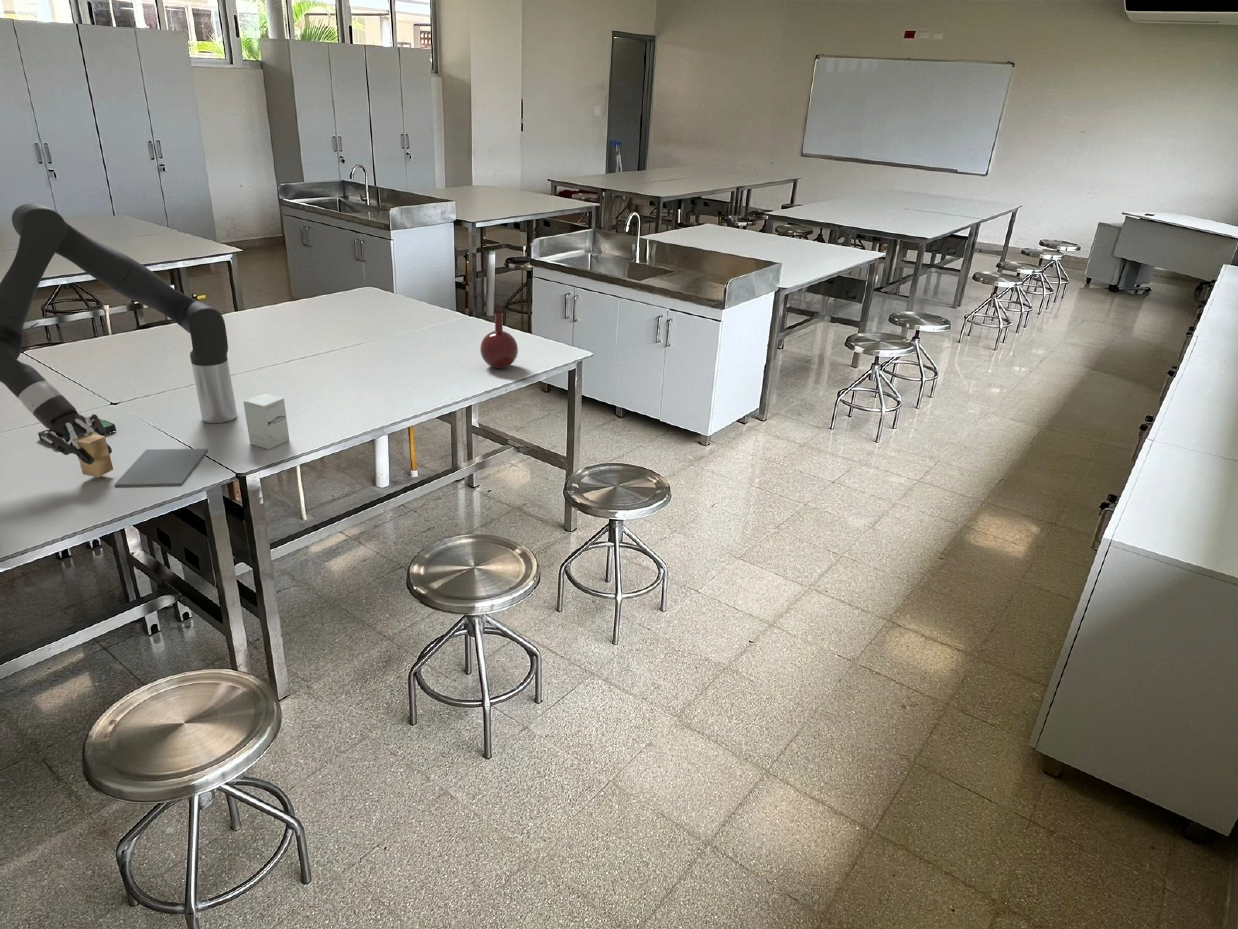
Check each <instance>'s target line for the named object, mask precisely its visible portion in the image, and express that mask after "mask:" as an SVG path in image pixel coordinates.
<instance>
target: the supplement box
mask: <svg viewBox="0 0 1238 929" xmlns="http://www.w3.org/2000/svg"><path fill="white" fill-rule="evenodd" d="M243 406H244V408H243V409H244V413H245V414H244V415H245V419H246V420H245V421H246V427H247V434H248V440H249V444H250V445H254V446H257V447H260V448H263V449H266V450H270V449H273V448H274V447H276V446H278V445H281V444H284V443H286V442H288V441H289V440H290V433H289V428H288V427H289V426H288V420H287V413H286V405H285V398H284V397H281V396H276V395H272V394H269V393H263V394H260V395H257V396H254V397H252V398H248V399H246V400H243Z"/></svg>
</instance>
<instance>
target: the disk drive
mask: <svg viewBox="0 0 1238 929" xmlns="http://www.w3.org/2000/svg"><path fill="white" fill-rule="evenodd" d="M99 420H100V422H101V423H102V425H103V427H104V429H105V430H106V432H107V434H108V435H110V434H109V433H110V432H113V431H117V428H116V425H115V423H113V422H110V421H107V420H105V419H101V418H99ZM86 425H88V424H87V423H86ZM89 427H91V426H89ZM37 433H38V438H39V440H40V441H42V442H43V439H44V438H45V436H46V435H47V433H50V430H49V429H48V428H47V429H46V430H42V431H39V432H37ZM87 433H88V432H87V431H86V433H85V434H87ZM58 438H59V439H61V440H63V438H60V437H58ZM79 438H80V437H79ZM63 441H64V440H63Z"/></svg>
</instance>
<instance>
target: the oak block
mask: <svg viewBox="0 0 1238 929" xmlns="http://www.w3.org/2000/svg"><path fill="white" fill-rule="evenodd" d="M77 442H78V443H79V444H80V445H81V448H84V449H85V450H86V451H87V452H88V453H89V454H90V455H91V456H92V457H93V458H94V461H93V463H92V464H90V465H88V464H87V463H84V462H83V461H82V460H81V459H80V458H79V457H78V456H77V458H78V462H79V465H80V468H81V472H82V475H84V476H89V477H94V478H101V476H103V475H104V476H105V475H107V474H108V473H109V472H112V471H113V470H114V467H113V466H114V465H113V462H112V459H111V454H109V451H108V447H107V444H108V443H107V438H106V435H105V436H101V435H95V434H87V435H85V436H83V437H80V438H78V441H77Z"/></svg>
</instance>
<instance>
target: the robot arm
mask: <svg viewBox="0 0 1238 929" xmlns="http://www.w3.org/2000/svg"><path fill="white" fill-rule="evenodd" d="M11 223H12V226H13V229H14V230H15V232H16V233H17V234H18V236H19V241H18V247H17V250H16V254H15V256H14V258H13V261H12V263H11V265H10V267H9V269H8V270H7V271H6V273H5V274H4V276H3V278H2V279H1V281H0V383H2V384H3V385H5V386H6V388H7V389H8V390H9V391H10V392H11V393H12V394H13V395H14V396H15V397H16V398H17V399H18V400H19V401H20V402H21V404H22V405H23V406H24V407H25V408H26V410H27V411H28V412H30V413H31V414H32V416H33V417H34V418H36V420H37V421H38V422H39V423H41V424H42V426H44V427H45V428H46V429H47V430H48V429H49V430H50V433H47V435H46V436H45V438H44V439H43V441H44V443H45V444H46V445H49V446H50V447H51V448H53V449H55V450H56V451H58V452H60V453H61V454H62V455H65V456H68V455H70V454H73V455H75V456H76V457H77V458H78V457H79V458H80V459H81V460H82V461H83V462H84V463H87V464H88V465H90V464H92V463H93V461H94V458H93V457H92V456H91V455H90V454H89V453H88V452H87V451H86V450H85V449H84V448H81V445H80V444H79V443H78V442H77V441H78V438H79V437H83V436H85V435H87V434H95V435H101V436H105V437H106V436H107V435H106V434H107V432H106V430H105V429H104V427H103V425H102V423H101V422H100V420H99V419H100V418H99V416H98V415H97V414H95V413H92V414H91V415H90V416H86V417H85V416H84V415H81V414H79V413H78V411H77V409H76V408H75V406H74V405H73V404H72V403H71V402H70V401H69V400H68V399H67V398H65V396H64V395H63V394H62V393H61V392H60V391H59V390H58V389H57V388H56V387H55V386H53V384H51V383H50V382H48V381H47V380H46V379H45V377H43V375H41V374H40V373H39V371H37V370H36V369H35V368H34V367H33V366H32V365H29V364H27V363H24V362H22V361H19V360H18V359H19V357H20V355H21V353H22V348H23V338H24V325H25V323H26V321H27V318H28V315H29V313H30V309H31V308H32V303H33V301H34V298H35V295H36V293H37V291H38V288H39V286H40V283H41V280H42V278H43V276H44V274H45V272H46V270H47V268H48V267H49V264H50V263H51V260H52V259H53V256H54V255H55V254H56V255H59V256H61V257H62V258H64V259H66V260H68V261H70V262H71V263H73V264H74V265H76V266H77V267H78V268H80V270H82V271H84V272H85V273H87V274H88V275H89V276H90V277H92V278H94V279H95V280H97V281H98V282H100V283H101V284H103V285H104V286H106V287H108V288H109V289H111V290H113V291H115V293H118V294H120V295H122V296H123V297H125V298H127V299H130V300H132V301H133V302H136V303H137V304H138V303H139V304H141V305H143V306H145V307H149V308H151V309H153V310H156V311H157V312H159V313H161V314H162V315H164V316H165V317H167V318H169V319H170V320H172V321H173V322H174V323H176V324H177V325H178V326H180V327H181V328H182V329H183V330H185V331H186V332H187V333H188V334H190V339H191V344H192V351H190V353H189V358H190V362H191V368H192V374H193V377H194V378H193V379H194V383H195V389H196V394H197V398H198V404H199V409H200V410H199V411H200V415H201V420H202V421H203V422H204V423H207V424H221V423H222V424H223V423H226V422H231V421H233V420H234V419H236V418H238V413H237V405H236V400H235V394H234V389H233V388H234V387H233V383H232V376H231V372H230V366H229V360H228V352H229V342H228V335H227V327H226V323H225V319H224V317H223V315H222V313H221V312H220V311H219V310H218V309H216V308H215V307H213V306H211V305H208V304H206V303H205V302H202V301H200V300H197V299H195V298H193V297H190V296H188V295H187V294H185V293H183V292H180V291H179V290H177V289H175V288H173V287H172V286H171V285H169V284H168V283H167V282H166V281H164V280H163V279H162V277H160V276H159V275H158V274H156V273H155V272H154V271H153V270H151V269H150V268H148V267H146V266H145V265H144V264H142V263H140V262H138V261H137V260H136V259H134V258H132V257H130V256H128V255H127V254H124V253H123V252H121V251H119V250H117V249H116V248H113V247H112V246H109V245H106V244H104V243H102V242H100V241H98V240H96V239H94V238H91V237H89V236H87V235H86V234H84V233H82V232H81V231H79V230H78V229H77V228H74V227H73V226H72V225H71V224H69V223H68V222H66V220H65V219H64V218H63V216H62V215H61V214H60V213H59V212H58V211H56V210H55V209H53V208H50V207H48V206H45V205H43V204H40V203H26V204H21V205H19V206H18V207H16V208H15V209H14V210H13V212H12V215H11ZM86 423H87V424H88V425H86ZM89 426H91V427H89ZM86 431H87V432H88V433H87V434H85V433H86ZM58 437H60V438H63V440H64V441H63V440H61V439H59V438H58ZM43 441H42V442H43ZM107 447H108V451H109V454H110V455H111V454H112V453H113V450H112V447H111V446H110V445H109V444H108V443H107Z"/></svg>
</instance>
